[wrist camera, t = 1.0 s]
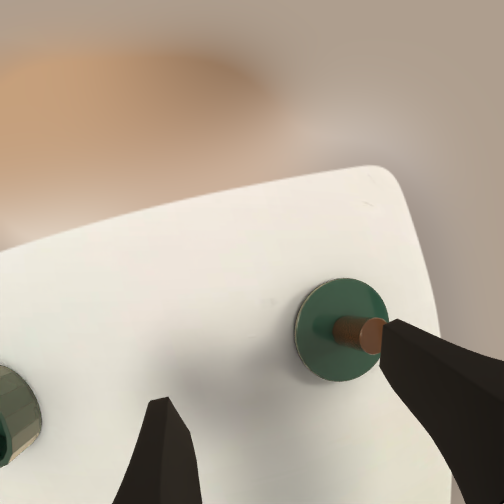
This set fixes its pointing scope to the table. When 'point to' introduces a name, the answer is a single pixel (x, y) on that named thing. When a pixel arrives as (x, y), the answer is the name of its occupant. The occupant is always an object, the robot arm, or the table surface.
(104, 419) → the table surface
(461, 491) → the robot arm
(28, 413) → the pot
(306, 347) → the lid
